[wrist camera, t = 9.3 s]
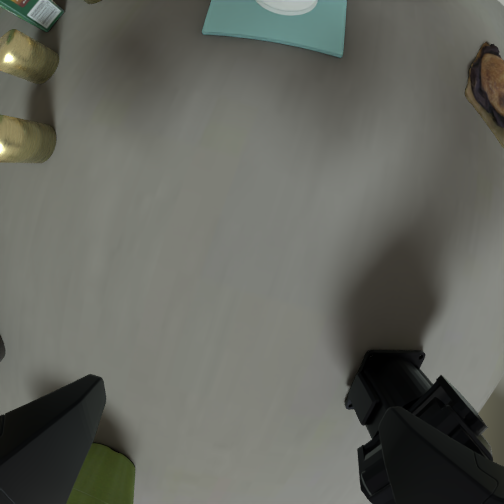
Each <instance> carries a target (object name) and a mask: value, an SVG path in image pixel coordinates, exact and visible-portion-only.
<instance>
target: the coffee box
mask: <svg viewBox="0 0 504 504" xmlns="http://www.w3.org/2000/svg"><path fill="white" fill-rule="evenodd" d="M0 7H2V8H4V9H6V10H7V11H9V12H11V13H12V14H14V15H15V16H17V17H19V18H21V19H23V20H25V21H27V22H29V23H30V24H32V25H34V26H36V27H38V28H40V29H41V30H43V31H45V32H48V31H49V30H50V28H51V27H52V26H53V25H54V23H55V22H56V21H57V20H58V19H59V18H60V16H61V15H62V14H63V13H64V10H63V9H62V8H61V7H60V6H59V5H57V4H56V3H55V2H54V1H53V0H0Z"/></svg>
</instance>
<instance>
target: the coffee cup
mask: <svg viewBox="0 0 504 504" xmlns="http://www.w3.org/2000/svg"><path fill="white" fill-rule="evenodd" d="M4 356H5V347H4V343H3V341H2V338H1V336H0V361H1V360H2V359H3V358H4Z"/></svg>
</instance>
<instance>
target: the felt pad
mask: <svg viewBox="0 0 504 504" xmlns="http://www.w3.org/2000/svg"><path fill="white" fill-rule="evenodd" d="M346 4H347V0H318V2H317V4H316V6H315V7H314V8H313V9H312V10H311V11H309V12H307V13H305V14H301V15H294V16H288V15H280V14H276V13H273V12H271V11H268V10H266V9H265V8H263V7H262V6H260V5H259V4H258V3H257V2H256V0H212V1H211V4H210V7H209V10H208V13H207V16H206V19H205V23H204V26H203V29H202V33H203V34H205V35H220V36H231V37H241V38H249V39H256V40H263V41H269V42H275V43H281V44H286V45H291V46H296V47H300V48H305V49H309V50H313V51H317V52H321V53H325V54H329V55H332V56H336V57H339V58H341V57H342V56H343V47H344V35H345V21H346Z"/></svg>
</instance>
